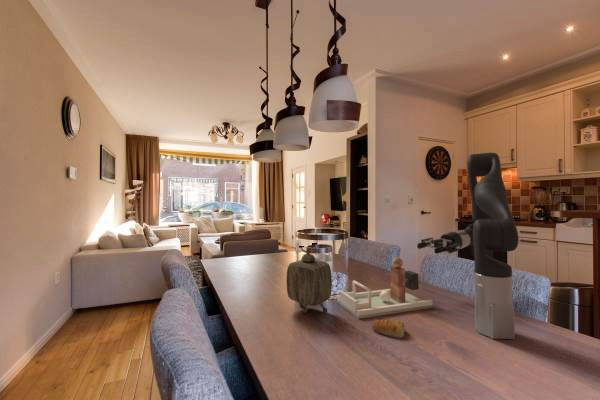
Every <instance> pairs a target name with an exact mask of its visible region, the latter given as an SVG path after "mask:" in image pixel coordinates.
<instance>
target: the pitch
mask: <svg viewBox="0 0 600 400" xmlns="http://www.w3.org/2000/svg"><path fill="white" fill-rule="evenodd" d="M382 291H388V292H389V293H390V295H391V290H390V288H386V289H378V290H371V298H372V308H367V309H360V310H357V313H354V312H353V311H352V310H350V309H349V308H348V307H346V306H345V305H344V304H343V303H341V302H340V295H339V294H337V295H336V302H337V303H338V304H339V305H341V307H343V308H344V309H345V310H347V311H348V312H350V313H351V314H352V315H353V316H354V317H355V318H357V319H358V320H359V319H366V318H373V317H380V316H387V315H393V314H398V313H399V314H400V313H405V312H407V313H408V312H413V311H419V310H425V309H426V310H427V309H432V308H433V300H432V299H425V300H423V299H420V298H419V297H416V296H415V295H412V294H410V293H408V292H406V291H405V301H401V302H398V301H396V300H394V299H392V298H391V299H390V300H389V301H388V302H384V301H382V300H381V299H380V293H381V292H382ZM356 300H357V301H358V303H361V302H368V291H362V292H361V291H360V292H356Z"/></svg>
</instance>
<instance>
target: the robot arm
mask: <svg viewBox="0 0 600 400" xmlns="http://www.w3.org/2000/svg"><path fill="white" fill-rule="evenodd" d="M500 159H501V158H500V156H499V154H498V153H496V152H483V153H482V152H481V153H473V154H470V155H468V157H467V160H466V161H467V162H466V167H467V168H466V169H467V170H466V172H467V179H468V180H467V181H468V186H469V193H470V199H471V218H472V221H473V223H471V224H470V225H468V226H467V227H466V228H464V229H461V230H454V231H450V232H447V233H444V234H442V235H441V236H440V238H434V237H432V236H431V237H427V238H424V239H423V238H422V239H420V241H421V242H418V243H417V245H416V246H417V249H418V250H421V249H424V248H430V249H434V253H435V254H436V255H438V254H440V253H448V254H453V253H455V252H458V251H461V249H464V248H466V247H469V246H472V245H473V250H474V252H473V253H474V254H473V255H474V267H473V268H474V328H475V331H476V332H478V334H479V333H480V334H481V335H484V336H486V337H489V338H491V339H492V340H515V335H516V334H515V333H516V332H515V329H516V327H515V326H516V325H515V305H514V304H513V270H512V269H513V268H512V266H511V265H510V264H508V263H506V262H504V261H500V260H498V259H495V258H493V257H492V256H490V255H489V254H488V253H487V251H489V252H490V251H491V252H492V251H493V252H513V251H515V250H516V249H517V248H518V246H519V242H520V237H519V232H518V229H517V225H516V222H515V220H514V217H513V214H512V212H511V209H510V205H509V199H508V193H507V190H506V186H505V183H504V179H503V176H502V175H503V174H502V167H501V160H500ZM478 177H482V178H481V179H480V180H479V181H478Z"/></svg>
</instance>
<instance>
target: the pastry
mask: <svg viewBox="0 0 600 400" xmlns="http://www.w3.org/2000/svg"><path fill="white" fill-rule="evenodd" d="M371 327H372V329H373V330H374V331H375V332H376V333H379V334H382V335H383V336H389V337H393V338H398V339H400V338H401V339H402V338H403V337H404V336H405V334H404V333H405V332H406V326H405V322H404V321H403V320H397V319H392V318H389V319H380V320H376V321H374V322H373V323H372V325H371Z"/></svg>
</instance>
